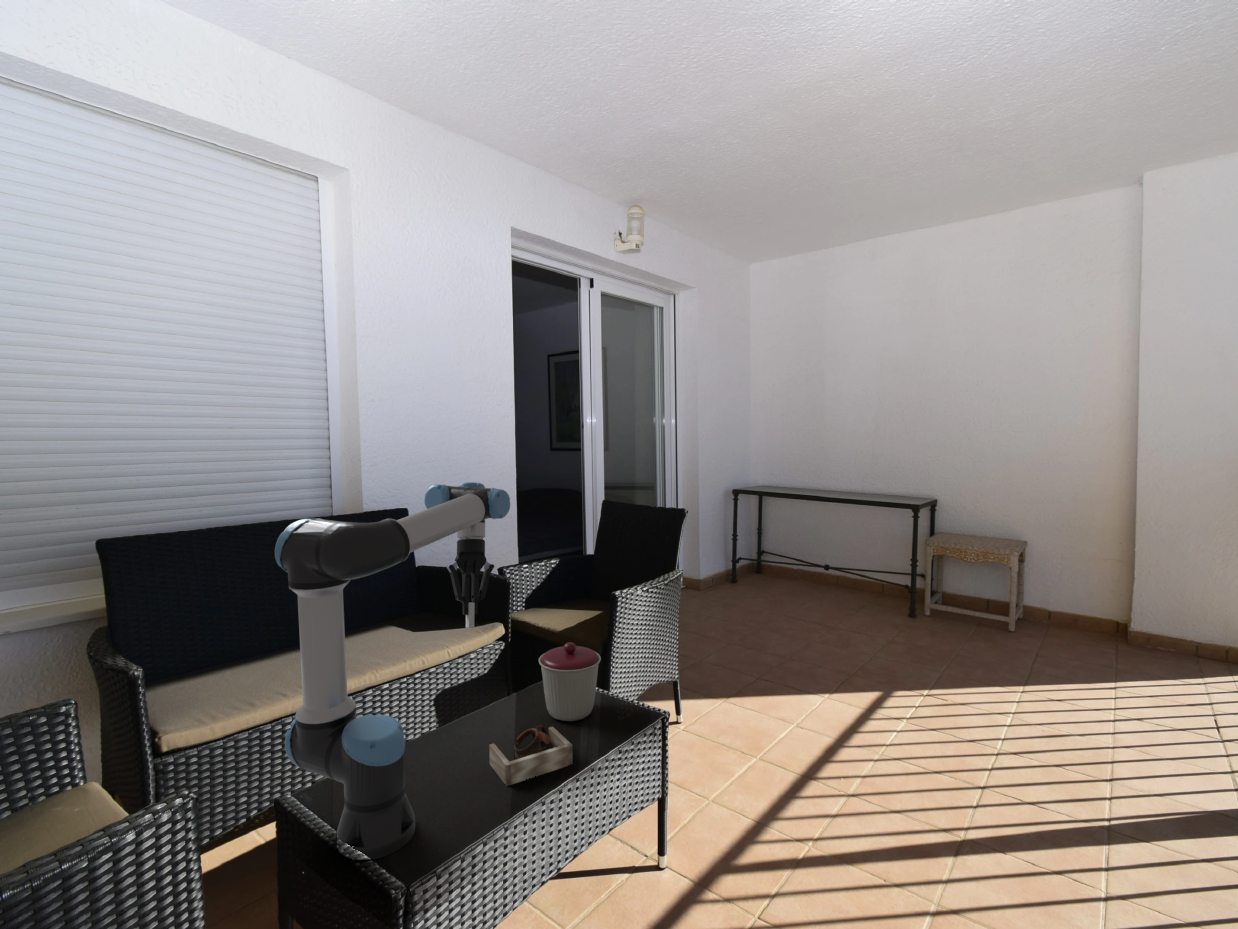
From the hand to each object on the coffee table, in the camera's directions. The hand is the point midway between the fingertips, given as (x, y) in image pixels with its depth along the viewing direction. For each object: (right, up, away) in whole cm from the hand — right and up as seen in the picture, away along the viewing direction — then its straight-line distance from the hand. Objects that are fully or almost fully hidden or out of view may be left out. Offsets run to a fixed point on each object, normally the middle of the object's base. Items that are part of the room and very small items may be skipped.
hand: (469, 627), depth 166 cm
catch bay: (+18, -31, -12) cm, 38 cm away
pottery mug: (+19, -31, -8) cm, 37 cm away
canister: (+26, -30, +16) cm, 42 cm away
